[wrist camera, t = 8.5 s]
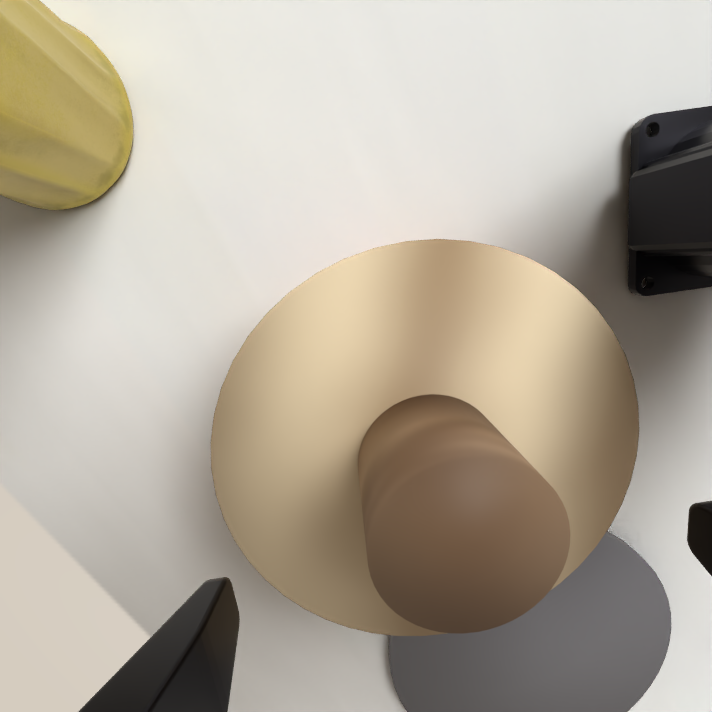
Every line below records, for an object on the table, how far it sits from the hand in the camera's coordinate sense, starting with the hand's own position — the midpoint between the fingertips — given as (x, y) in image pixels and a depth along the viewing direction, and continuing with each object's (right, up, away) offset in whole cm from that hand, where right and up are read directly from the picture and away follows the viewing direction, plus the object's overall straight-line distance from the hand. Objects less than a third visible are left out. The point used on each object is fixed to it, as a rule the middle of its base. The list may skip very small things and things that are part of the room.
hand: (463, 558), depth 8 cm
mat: (+7, -10, +13) cm, 18 cm away
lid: (0, +1, +4) cm, 5 cm away
